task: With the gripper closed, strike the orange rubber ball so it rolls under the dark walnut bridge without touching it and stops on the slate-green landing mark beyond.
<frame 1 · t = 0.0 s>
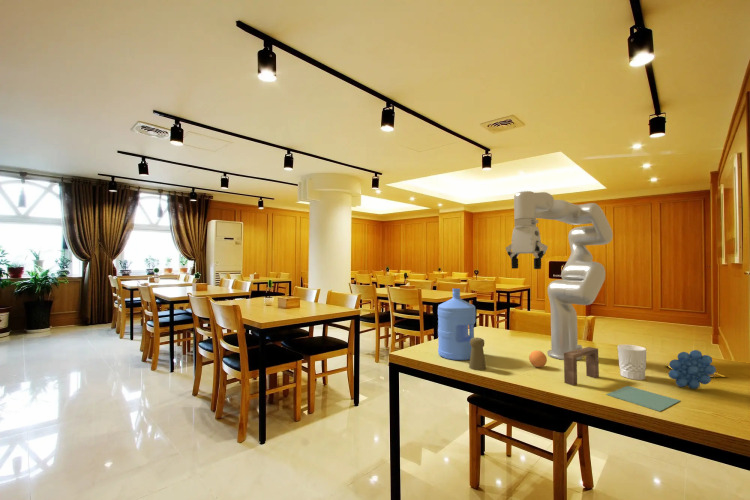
hand: (525, 268, 129), 37 cm above the table, tool pointing down, fingers open, 9 cm apart
white cup: (632, 377, 116), on the table
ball: (537, 358, 127), on the table
landing mark: (642, 397, 98), on the table
bridge: (582, 380, 113), on the table
dessert: (694, 374, 120), on the table
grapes: (690, 388, 106), on the table
water jug: (457, 355, 142), on the table
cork: (477, 368, 126), on the table
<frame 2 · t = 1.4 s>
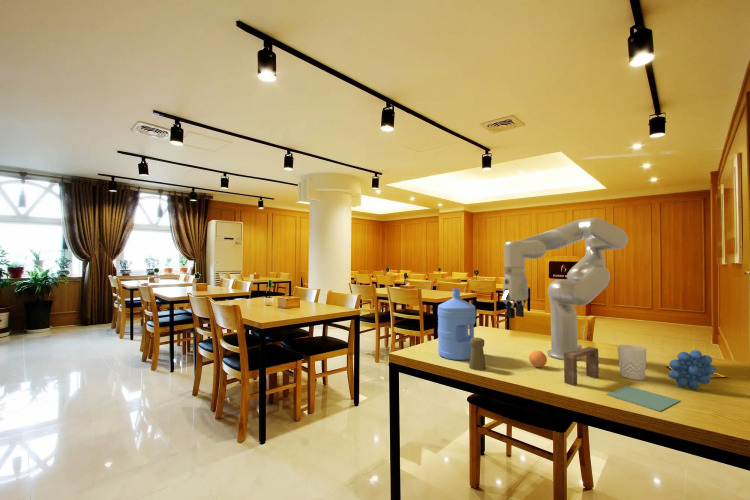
hand: (515, 316, 135), 17 cm above the table, tool pointing down, fingers open, 4 cm apart
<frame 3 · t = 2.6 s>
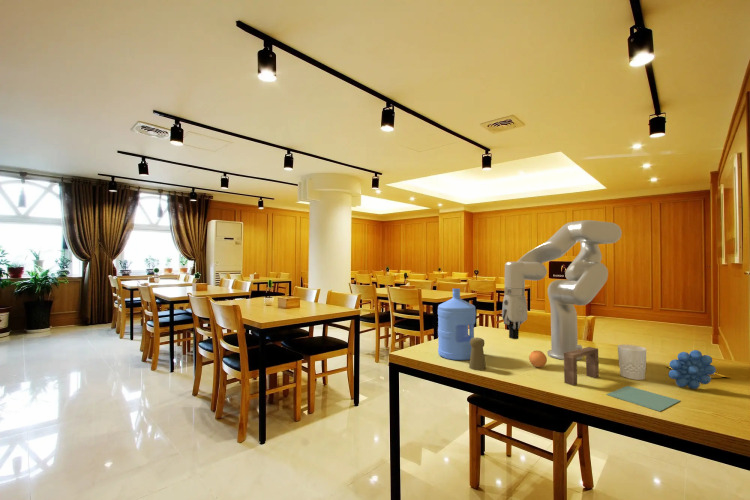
hand: (513, 338, 135), 9 cm above the table, tool pointing down, fingers closed
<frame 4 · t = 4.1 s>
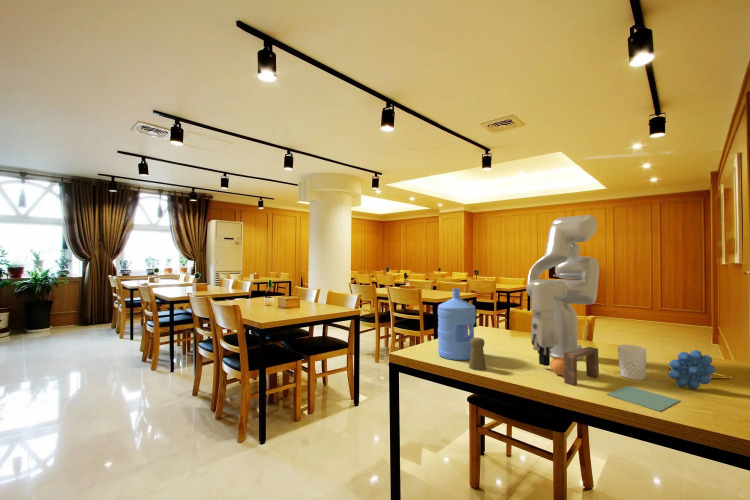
hand: (544, 364, 124), 2 cm above the table, tool pointing down, fingers closed
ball: (560, 366, 118), on the table
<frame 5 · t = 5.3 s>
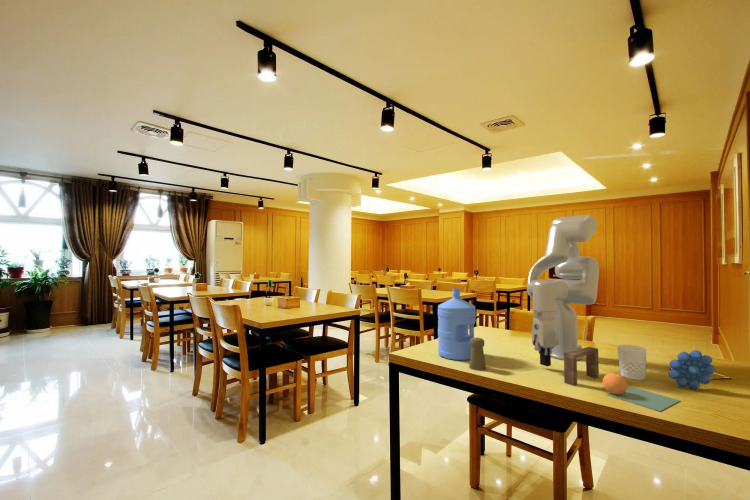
hand: (545, 365, 124), 2 cm above the table, tool pointing down, fingers closed
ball: (614, 383, 101), on the table
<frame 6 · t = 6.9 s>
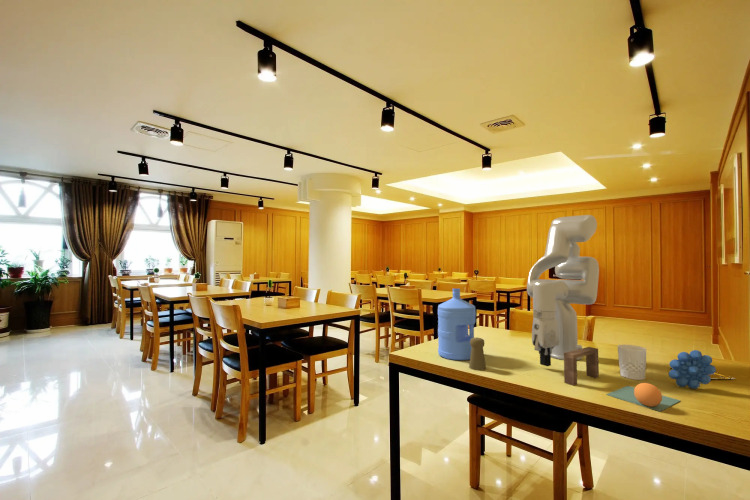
hand: (545, 365, 124), 2 cm above the table, tool pointing down, fingers closed
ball: (647, 394, 93), on the table
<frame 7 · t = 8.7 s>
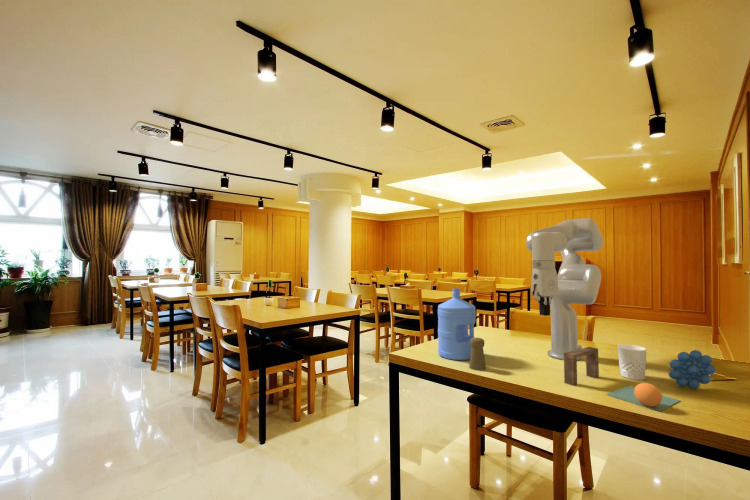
hand: (544, 314, 125), 20 cm above the table, tool pointing down, fingers closed
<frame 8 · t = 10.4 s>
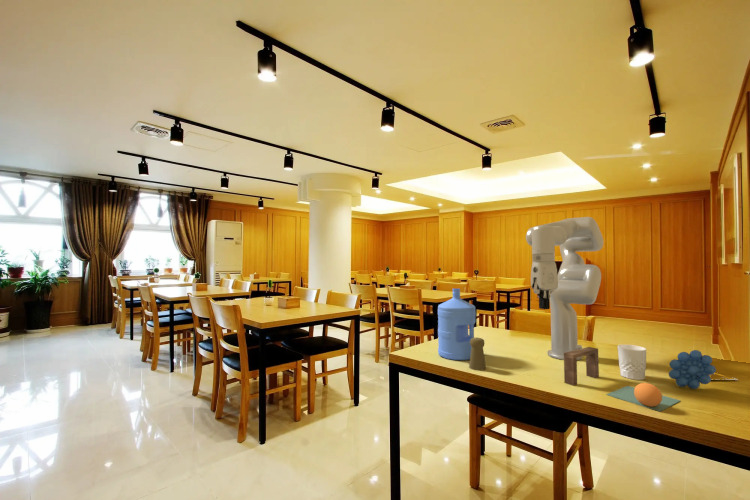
hand: (544, 308, 125), 22 cm above the table, tool pointing down, fingers closed
at the end: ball 5.8 cm from the landing mark (horizontally); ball never touched bridge; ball at rest at the end (0.0 cm/s) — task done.
